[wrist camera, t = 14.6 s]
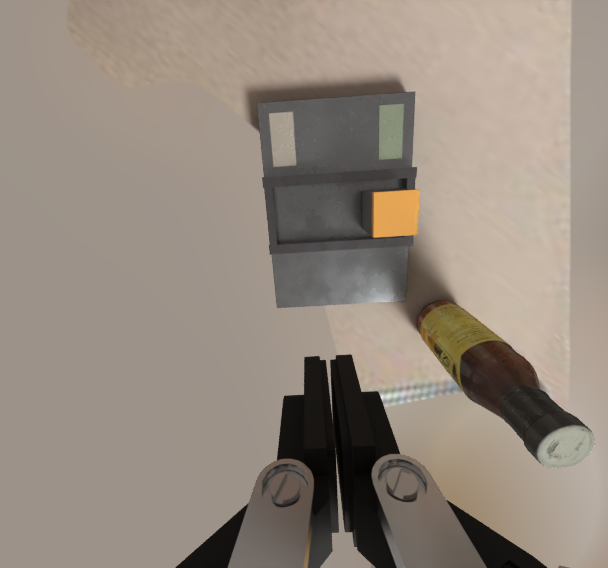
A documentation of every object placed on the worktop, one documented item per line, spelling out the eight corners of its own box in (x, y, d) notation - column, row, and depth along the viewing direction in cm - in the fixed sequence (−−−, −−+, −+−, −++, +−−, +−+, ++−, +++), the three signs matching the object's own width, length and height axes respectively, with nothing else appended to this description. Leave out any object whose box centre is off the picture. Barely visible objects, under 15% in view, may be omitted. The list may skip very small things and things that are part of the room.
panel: (259, 107, 32) (254, 99, 29) (408, 97, 32) (420, 86, 28) (278, 301, 39) (275, 312, 36) (401, 295, 39) (410, 305, 35)
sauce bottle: (405, 323, 40) (494, 449, 21) (440, 288, 38) (572, 390, 19) (439, 351, 41) (552, 494, 22) (475, 319, 40) (629, 443, 21)
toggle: (361, 191, 33) (373, 192, 27) (399, 188, 32) (419, 189, 27) (362, 228, 34) (373, 237, 28) (398, 226, 34) (417, 235, 28)
